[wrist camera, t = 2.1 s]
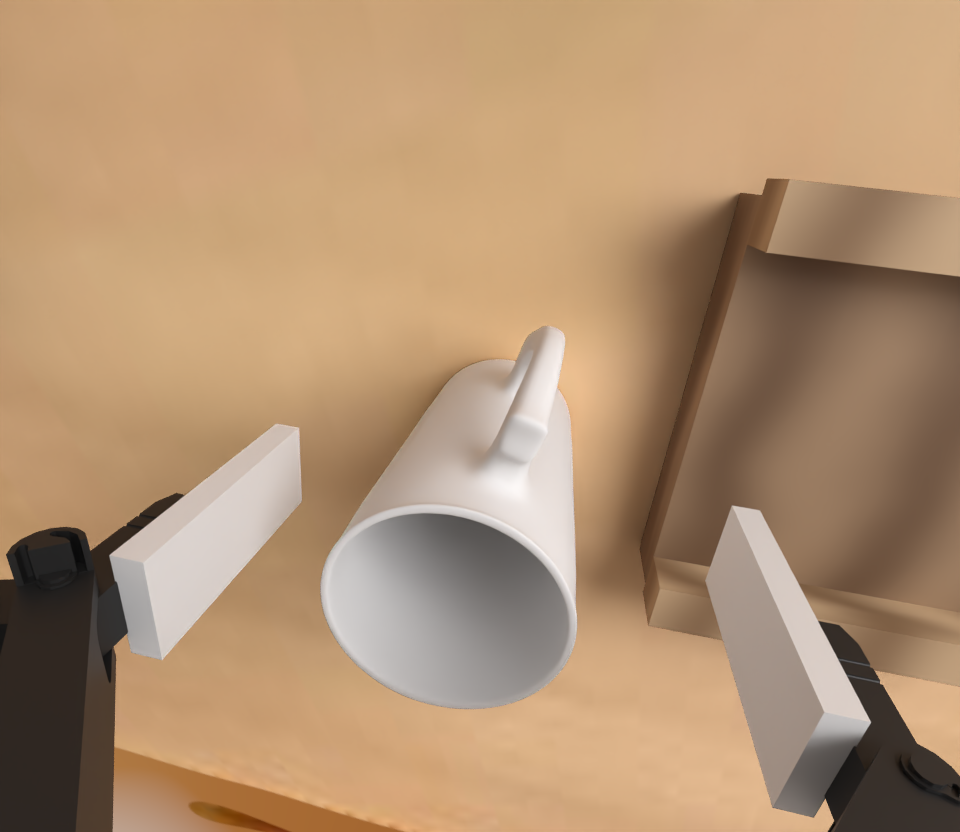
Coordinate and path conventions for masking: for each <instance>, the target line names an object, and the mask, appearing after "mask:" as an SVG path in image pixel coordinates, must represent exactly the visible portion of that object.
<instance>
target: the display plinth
mask: <svg viewBox="0 0 960 832" xmlns="http://www.w3.org/2000/svg"><path fill="white" fill-rule="evenodd" d="M732 505H733V506H738V507H744V508H749V509H755V510H760V511H761V513H762V515H763V517H764V519H765V521H766V523H767V525H768V527H769V529H770V531H771V532H772V534H773V536H774V538H775V540H776V542H777V544H778V546H779V548H780V550H781V551H782V553H783V555H784V557H785V559H786V561H787V563H788V565H789V567H790V569H791V571H792V572H793V574H794V576H795V578H796V580H797V582H798V584H799V586H800V588H801V590H802V592H803V593H804V595H805V597H806V599H807V601H808V603H809V605H810V607H811V609H812V611H813V612H814V614H815V616H816V618H817V620H818V621H822V622H827V623H832V624H837V625H840V626H841V627H842V628H843V629H844V630H845V631H846V632H847V633H848V634H849V635H850V636H851V637H852V638H853V639H854V640H855V641H856V642H857V643H858V644H859V646H860V647H861V649H862V651H863V652H864V654H865V656H866V657H867V659H868V661H869V663H870V668H873V669H874V670H876V671H882V672H887V673H892V674H897V675H902V676H907V677H912V678H917V679H922V680H927V681H933V682H938V683H943V684H948V685H953V686H958V687H960V198H955V197H946V196H937V195H928V194H918V193H909V192H900V191H891V190H882V189H873V188H864V187H855V186H846V185H837V184H827V183H818V182H809V181H800V180H791V179H767V180H766V184H765V187H764V190H763V194H762V195H755V194H746V193H740V196H739V200H738V203H737V207H736V210H735V214H734V218H733V221H732V225H731V228H730V232H729V235H728V239H727V242H726V246H725V249H724V253H723V256H722V260H721V263H720V267H719V270H718V274H717V277H716V281H715V284H714V288H713V292H712V295H711V299H710V302H709V306H708V309H707V313H706V316H705V320H704V323H703V327H702V330H701V334H700V337H699V341H698V344H697V348H696V351H695V355H694V358H693V362H692V365H691V369H690V373H689V376H688V380H687V383H686V387H685V390H684V394H683V397H682V401H681V404H680V408H679V411H678V415H677V418H676V422H675V425H674V429H673V432H672V436H671V439H670V443H669V447H668V450H667V454H666V457H665V461H664V464H663V468H662V471H661V475H660V478H659V482H658V485H657V489H656V492H655V496H654V499H653V503H652V506H651V510H650V513H649V517H648V520H647V524H646V528H645V531H644V535H643V538H642V542H641V545H640V553H641V559H642V565H643V571H644V577H645V583H646V584H645V587H644V590H643V595H644V601H645V608H646V614H647V620H648V626H652V627H657V628H662V629H668V630H673V631H678V632H683V633H688V634H693V635H698V636H703V637H708V638H713V639H718V640H723V639H722V635H721V632H720V629H719V625H718V622H717V618H716V615H715V612H714V608H713V605H712V602H711V598H710V595H709V591H708V588H707V585H706V581H705V580H706V577H707V575H708V572H709V569H710V566H711V563H712V560H713V558H714V555H715V552H716V549H717V546H718V543H719V541H720V538H721V535H722V532H723V529H724V527H725V524H726V521H727V518H728V515H729V512H730V510H731V507H732Z"/></svg>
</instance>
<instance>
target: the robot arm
mask: <svg viewBox="0 0 960 832" xmlns="http://www.w3.org/2000/svg"><path fill="white" fill-rule="evenodd" d="M301 502H302V489H301V464H300V439H299V427H293V426H287V425H282V424H275V425H274V426H272V427H271V428H270V429H269V430H267V431H266V432H265V433H264V434H262V435H261V436H260V437H258V438H257V439H256V440H255V441H253V442H252V443H251V444H250V445H248V446H247V447H246V448H245V449H243V450H242V451H241V452H239V453H238V454H237V455H236V456H234V457H233V458H232V459H231V460H229V461H228V462H227V463H226V464H224V465H223V466H222V467H220V468H219V469H218V470H217V471H215V472H214V473H213V474H212V475H210V476H209V477H208V478H207V479H205V480H204V481H203V482H201V483H200V484H199V485H198V486H196V487H195V488H194V489H193V490H191V491H190V492H189V493H188V494H186V495H182V494H177V493H176V494H173V495H171V496H169V497H166V498H164V499H162V500H159V501H157V502H155V503H154V504H152V505H151V506H150V507H148V508H147V509H146V510H144V511H143V512H142V513H140V516H139V517H138V516H136V517H135V518H134V519H132V520H131V521H130V522H128V523H127V526H123V527H122V528H120V529H119V530H118V531H116V532H115V533H114V534H112V535H111V536H110V537H108V538H107V539H106V540H104V541H103V542H102V543H101V544H99V545H98V546H97V547H95V548H94V549H93V550H91V551H90V549H89V545H88V540H87V537H86V534H85V532H83V531H81V530H79V529H78V528H70V527H60V528H51V529H47V530H43V531H39V532H36V533H34V534H32V535H29V536H27V537H25V538H23V539H21V540H20V541H18V542H17V543H16V544H14V545H13V546H12V547H11V548H10V550H9V551H8V553H7V554H6V556H7V559H8V562H9V565H10V568H11V571H12V574H13V577H14V579H12V580H0V832H112V829H113V779H114V778H113V777H114V731H115V682H116V655H115V651H114V646H115V645H116V644H117V643H118V642H119V641H120V640H121V639H122V638H123V637H124V636H125V635H126V634H127V636H128V640H129V645H130V649H131V653H135V654H139V655H143V656H147V657H152V658H156V659H160V660H163V658H164V657H165V656H166V655H167V654H168V653H169V652H170V651H171V649H172V648H173V647H174V646H175V645H176V644H177V643H178V641H179V640H180V639H181V638H182V637H183V636H184V635H185V634H186V632H187V631H188V630H189V629H190V628H191V627H192V626H193V624H194V623H195V622H196V621H197V620H198V619H199V618H200V616H201V615H202V614H203V613H204V612H205V611H206V610H207V609H208V607H209V606H210V605H211V604H212V603H213V602H214V601H215V599H216V598H217V597H218V596H219V595H220V594H221V593H222V592H223V590H224V589H225V588H226V587H227V586H228V585H229V584H230V582H231V581H232V580H233V579H234V578H235V577H236V576H237V574H238V573H239V572H240V571H241V570H242V569H243V568H244V567H245V565H246V564H247V563H248V562H249V561H250V560H251V559H252V557H253V556H254V555H255V554H256V553H257V552H258V551H259V550H260V548H261V547H262V546H263V545H264V544H265V543H266V542H267V540H268V539H269V538H270V537H271V536H272V535H273V534H274V533H275V531H276V530H277V529H278V528H279V527H280V526H281V525H282V523H283V522H284V521H285V520H286V519H287V518H288V517H289V515H290V514H291V513H292V512H293V511H294V510H295V509H296V508H297V506H298V505H299V504H300V503H301ZM705 581H706V585H707V588H708V591H709V595H710V598H711V602H712V605H713V608H714V612H715V615H716V618H717V622H718V625H719V629H720V632H721V635H722V639H723V642H724V645H725V649H726V652H727V656H728V659H729V662H730V666H731V669H732V672H733V676H734V679H735V682H736V686H737V689H738V693H739V696H740V699H741V703H742V706H743V709H744V713H745V716H746V720H747V723H748V726H749V730H750V733H751V736H752V740H753V743H754V747H755V750H756V753H757V757H758V760H759V763H760V767H761V770H762V774H763V777H764V780H765V784H766V787H767V790H768V794H769V797H770V800H771V804H772V807H773V808H776V809H781V810H785V811H789V812H793V813H797V814H801V815H805V816H810V817H814V816H815V815H816V813H817V811H818V810H819V808H820V806H821V805H822V803H823V801H824V800H825V798H826V801H827V803H828V806H829V809H830V811H831V814H832V816H833V819H834V822H833V824H832V826H831V827H830V829H829V830H828V832H960V776H959V775H958V774H957V773H956V771H955V770H954V769H953V768H952V767H951V766H950V765H949V764H947V763H946V762H945V761H944V760H942V759H941V758H940V757H939V756H937V755H936V754H935V753H933V752H931V751H929V750H928V749H926V748H924V747H922V746H920V745H919V744H917V743H916V741H915V739H914V738H913V736H912V734H911V733H910V731H909V729H908V727H907V726H906V724H905V722H904V721H903V719H902V717H901V715H900V714H899V712H898V710H897V709H896V707H895V705H894V704H893V702H892V700H891V698H890V697H889V695H888V693H887V692H886V690H885V688H884V686H883V685H881V684H880V680H879V678H878V676H877V675H876V673H875V671H874V669H873V668H870V663H869V661H868V659H867V657H866V656H865V654H864V652H863V651H862V649H861V647H860V646H859V644H858V643H857V642H856V641H855V640H854V639H853V638H852V637H851V636H850V635H849V634H848V633H847V632H846V631H845V630H844V629H843V628H842V627H841V626H840V625H837V624H832V623H827V622H822V621H818V620H817V618H816V616H815V614H814V612H813V611H812V609H811V607H810V605H809V603H808V601H807V599H806V597H805V595H804V593H803V592H802V590H801V588H800V586H799V584H798V582H797V580H796V578H795V576H794V574H793V572H792V571H791V569H790V567H789V565H788V563H787V561H786V559H785V557H784V555H783V553H782V551H781V550H780V548H779V546H778V544H777V542H776V540H775V538H774V536H773V534H772V532H771V531H770V529H769V527H768V525H767V523H766V521H765V519H764V517H763V515H762V513H761V511H760V510H755V509H749V508H744V507H738V506H733V505H732V507H731V510H730V512H729V515H728V518H727V521H726V524H725V527H724V529H723V532H722V535H721V538H720V541H719V543H718V546H717V549H716V552H715V555H714V558H713V560H712V563H711V566H710V569H709V572H708V575H707V577H706V580H705Z"/></svg>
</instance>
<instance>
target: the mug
mask: <svg viewBox="0 0 960 832" xmlns="http://www.w3.org/2000/svg"><path fill="white" fill-rule="evenodd" d="M564 348H565V336H564V334H563V332H562V331H560V330H559V329H557V328H555V327H552V326H543V327H541V328H539V329H537V330H536V331H534V332H532V333H531V334H530V335H529V336H528V337H527V338H526V340H525V342H524V344H523V346H522V348H521V351H520V353H519V355H518V358H517V360H516V361H513V360H505V359H492V360H485V361H481V362H477V363H474V364H472V365H469V366H467V367H465V368H464V369H462V370H460V371H459V372H458V373H456V374H455V375H454V376H453V377H452V378H451V379H450V380H449V381H448V382H447V383H446V384H445V386H444V387H443V388H442V390H441V391H440V393H439V394H438V396H437V397H436V398H435V400H434V401H433V402H432V403H431V405H430V406H429V407H428V409H427V410H426V411H425V413H424V414H423V416H422V417H421V419H420V420H419V422H418V423H417V425H416V426H415V428H414V429H413V431H412V432H411V433H410V435H409V436H408V438H407V439H406V441H405V442H404V443H403V445H402V446H401V448H400V449H399V451H398V452H397V454H396V455H395V456H394V458H393V459H392V461H391V462H390V464H389V465H388V466H387V468H386V469H385V471H384V472H383V474H382V475H381V476H380V478H379V479H378V481H377V482H376V484H375V485H374V486H373V488H372V489H371V491H370V492H369V494H368V495H367V496H366V498H365V499H364V501H363V502H362V504H361V505H360V507H359V508H358V510H357V511H356V513H355V515H354V516H353V518H352V519H351V521H350V523H349V524H348V526H347V528H346V529H345V531H344V533H343V534H342V536H341V538H340V539H339V540H338V541H337V543H336V544H335V545H334V547H333V548H332V550H331V552H330V553H329V555H328V557H327V560H326V562H325V565H324V568H323V572H322V577H321V586H320V592H321V602H322V608H323V612H324V615H325V618H326V621H327V623H328V626H329V628H330V630H331V632H332V634H333V635H334V637H335V639H336V640H337V642H338V643H339V645H340V646H341V648H342V649H343V650H344V652H345V653H346V654H347V655H348V656H349V657H350V658H351V660H352V661H353V662H354V663H355V664H356V665H358V666H359V667H360V668H361V669H362V670H363V671H364V672H366V673H367V674H368V675H369V676H371V677H372V678H373V679H375V680H376V681H378V682H379V683H381V684H382V685H384V686H386V687H387V688H389V689H391V690H393V691H395V692H397V693H399V694H401V695H403V696H406V697H408V698H411V699H414V700H417V701H420V702H423V703H427V704H431V705H436V706H441V707H447V708H456V709H484V708H492V707H498V706H502V705H507V704H510V703H513V702H516V701H519V700H522V699H524V698H526V697H528V696H530V695H532V694H534V693H536V692H537V691H539V690H540V689H542V688H543V687H545V686H546V685H547V684H549V683H550V682H551V681H552V680H553V679H554V678H555V677H556V676H557V675H558V674H559V672H560V671H561V670H562V669H563V667H564V666H565V664H566V663H567V661H568V659H569V657H570V655H571V653H572V650H573V647H574V643H575V639H576V633H577V614H576V552H575V524H574V496H573V465H572V439H571V421H570V414H569V410H568V407H567V404H566V401H565V399H564V397H563V395H562V394H561V392H560V391H559V389H558V388H557V385H558V380H559V375H560V371H561V365H562V360H563V354H564Z"/></svg>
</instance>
